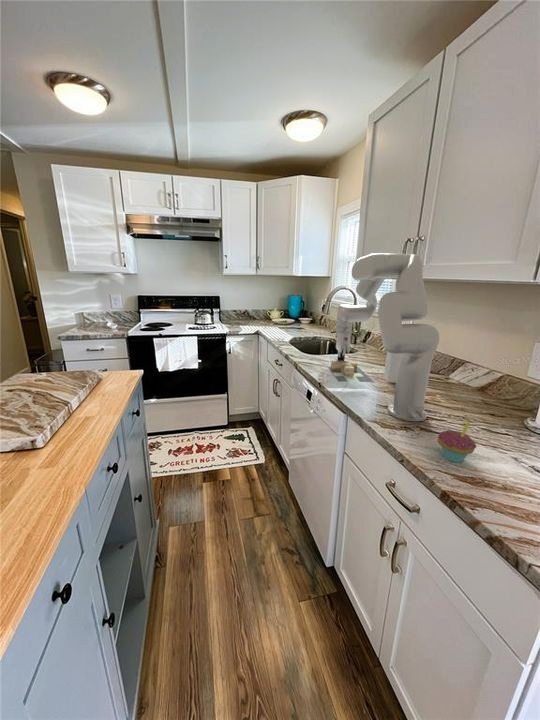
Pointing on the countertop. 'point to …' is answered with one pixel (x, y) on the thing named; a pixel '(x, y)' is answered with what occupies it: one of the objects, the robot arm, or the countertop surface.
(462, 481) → the countertop surface
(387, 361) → the milk carton
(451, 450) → the cupcake
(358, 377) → the board
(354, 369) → the t block
